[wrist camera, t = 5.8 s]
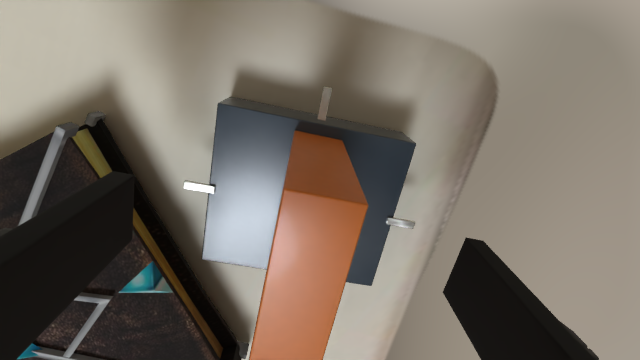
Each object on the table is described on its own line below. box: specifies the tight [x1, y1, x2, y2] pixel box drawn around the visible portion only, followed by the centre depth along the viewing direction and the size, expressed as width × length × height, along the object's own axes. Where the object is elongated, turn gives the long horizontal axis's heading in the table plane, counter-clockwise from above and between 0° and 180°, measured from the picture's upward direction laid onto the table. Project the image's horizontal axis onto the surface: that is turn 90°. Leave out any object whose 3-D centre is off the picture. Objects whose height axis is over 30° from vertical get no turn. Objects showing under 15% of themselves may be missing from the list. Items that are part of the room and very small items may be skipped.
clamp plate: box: [184, 86, 416, 286], centre depth 17 cm, size 11×11×3 cm
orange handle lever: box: [249, 131, 368, 360], centre depth 13 cm, size 7×2×7 cm, turn 167°
